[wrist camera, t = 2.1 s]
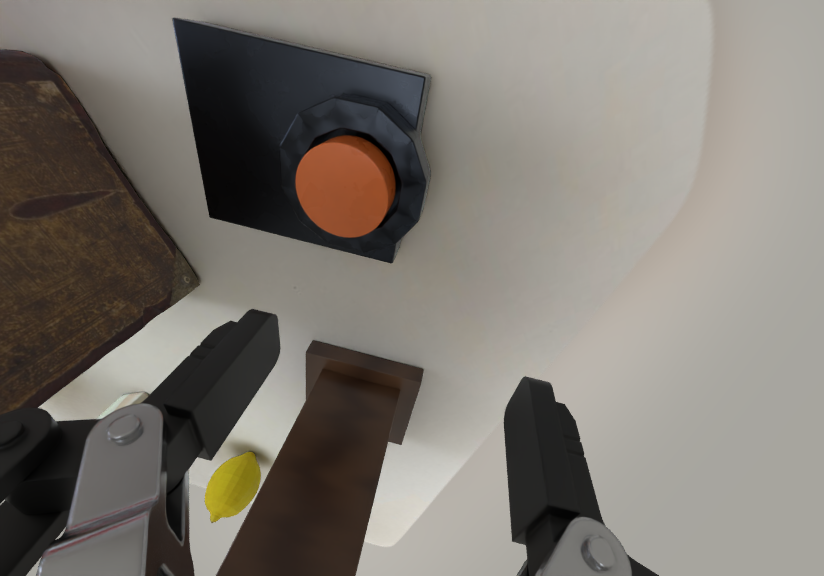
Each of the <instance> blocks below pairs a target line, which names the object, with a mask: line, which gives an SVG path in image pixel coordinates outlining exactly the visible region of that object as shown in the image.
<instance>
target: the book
mask: <svg viewBox="0 0 824 576" xmlns="http://www.w3.org/2000/svg"><path fill="white" fill-rule="evenodd" d="M199 285H200V284H199V282H198V280H197V278H196V276H195V274H194V273H193V271H192V269H191V268H190V266H189V265H188V263H187V261H186V260H185V259H184V257H183V256H182V254H181V253H180V251H179V250H178V249H177V248H176V247H175V245H174V244H173V242H172V241H171V239H170V238H169V237H168V236H167V235H166V233H165V232H164V231H163V229H162V228H161V227H160V225H159V224H158V223H157V221H156V220H155V219H154V217H153V216H152V214H151V213H150V211H149V210H148V209H147V207H146V206H145V205H144V203H143V202H142V201H141V199H140V198H139V197H138V195H137V194H136V192H135V191H134V189H133V188H132V186H131V185H130V183H129V182H128V180H127V179H126V178H125V176H124V175H123V173H122V172H121V171H120V169H119V167H118V166H117V164H116V163H115V161H114V160H113V158H112V157H111V155H110V154H109V152H108V151H107V149H106V147H105V146H104V144H103V142H102V140H101V138H100V136H99V134H98V132H97V130H96V128H95V126H94V124H93V123H92V121H91V120H90V118H89V117H88V115H87V114H86V112H85V110H84V109H83V107H82V106H81V104H80V103H79V101H78V100H77V98H76V97H75V95H74V94H73V93H72V91H71V90H70V89H69V87H68V86H67V85H66V83H65V82H64V81H63V79H62V78H61V77H60V75H58V74H57V73H55V72H53V71H52V70H50V69H48V68H47V67H46V66H45V64H44V63H43V62H41V61H40V60H39V59H37V58H36V57H34V56H32V55H30V54H28V53H25V52H23V51H14V50H0V415H1V414H4V413H7V412H10V411H13V410H17V409H23V408H38V407H39V406H40V405H42V404H43V403H44V402H46V401H47V400H48V399H49V398H51V397H52V396H53V395H54V394H56V393H57V392H58V391H60V390H61V389H62V388H63V387H65V386H66V385H67V384H69V383H70V382H71V381H73V380H74V379H75V378H77V377H78V376H79V375H81V374H82V373H83V372H85V371H86V370H87V369H89V368H90V367H91V366H93V365H94V364H95V363H96V362H98V361H99V360H100V359H101V358H103V357H104V356H105V355H106V354H108V353H109V352H110V351H112V350H113V349H115V348H116V347H118V346H119V345H121V344H122V343H124V342H125V341H126V340H128V339H129V338H130V337H132V336H133V335H134V334H136V333H137V332H138V331H140V330H141V329H142V328H143V327H144V326H145V325H146V324H147V323H148V322H150V321H151V320H152V319H153V318H155V317H156V316H157V315H159V314H161V313H162V312H164V311H165V310H167V309H168V308H170V307H171V306H173V305H174V304H175V303H177V302H178V301H179V300H181V299H182V298H183V297H185V296H186V295H187V294H189V293H190V292H191V291H193V290H194V289H195V288H196V287H197V286H199Z"/></svg>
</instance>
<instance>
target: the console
mask: <svg viewBox="0 0 824 576" xmlns="http://www.w3.org/2000/svg"><path fill="white" fill-rule="evenodd" d="M172 20H173V26H174V31H175V36H176V42H177V47H178V52H179V58H180V63H181V68H182V73H183V79H184V84H185V89H186V95H187V100H188V105H189V111H190V116H191V121H192V127H193V132H194V137H195V142H196V148H197V153H198V158H199V164H200V169H201V174H202V180H203V185H204V190H205V196H206V201H207V206H208V212H209V217H210V218H214V219H218V220H222V221H226V222H230V223H234V224H238V225H242V226H246V227H250V228H253V229H257V230H261V231H265V232H269V233H273V234H277V235H281V236H285V237H289V238H293V239H297V240H301V241H305V242H309V243H313V244H317V245H321V246H325V247H329V248H332V249H336V250H340V251H344V252H348V253H352V254H356V255H360V256H364V257H368V258H372V259H376V260H380V261H384V262H388V263H393V261H394V259H395V257H396V255H397V252H398V250H399V248H400V242H401V238H402V237H403V236H404V235H405V234H406V233H407V232H408V231H409V230H410V229H411V228H412V227H413V226H414V225H415V224H416V223H417V222H418V220H419V219H420V216H421V214H422V211H423V208H424V204H425V200H426V195H427V191H428V186H429V182H430V177H431V170H430V167H429V164H428V160H427V157H426V154H425V151H424V147H423V144H422V141H421V137H420V135H421V130H422V125H423V119H424V114H425V109H426V103H427V98H428V92H429V87H430V82H431V75H429V74H425V73H421V72H417V71H412V70H408V69H404V68H399V67H395V66H391V65H387V64H382V63H378V62H374V61H370V60H365V59H361V58H357V57H352V56H348V55H344V54H340V53H335V52H331V51H327V50H322V49H318V48H314V47H310V46H305V45H301V44H297V43H292V42H288V41H284V40H280V39H275V38H271V37H267V36H262V35H258V34H254V33H250V32H245V31H241V30H237V29H232V28H228V27H224V26H220V25H215V24H211V23H207V22H201V21H194V20H188V19H181V18H172ZM342 135H352V136H357V137H360V138H363V139H365V140H367V141H369V142H371V143H372V144H374V145H375V146H376V147H378V148H379V149H380V150H381V151H382V152H383V154H384V155H385V156H386V158H387V159H388V161H389V163H390V164H391V167H392V169H393V172H394V175H395V181H396V192H395V197H394V200H393V203H392V205H391V207H390V209H389V210H388V212H387V214H386V215H385V217H384V218H383V220H382V222H381V223H380V224H379V225H378V226H377V227H376V228H375V229H374V230H373V231H371V232H370V233H368V234H366V235H363V236H359V237H352V238H348V237H340V236H336V235H333V234H331V233H329V232H327V231H325V230H323V229H322V228H320V227H319V226H318V225H316V224H315V223H314V222H313V221H312V220H311V219H310V218H309V217H308V215H307V214H306V212H305V211H304V209H303V208H302V206H301V204H300V201H299V199H298V196H297V191H296V183H295V182H296V172H297V168H298V165H299V163H300V161H301V159H302V158H303V157H304V155H305V154H306V153H307V152H308V151H309V150H311V149H312V148H313V147H315V146H317V145H319V144H321V143H323V142H325V141H327V140H329V139H331V138H333V137H337V136H342Z"/></svg>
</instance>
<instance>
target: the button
mask: <svg viewBox="0 0 824 576" xmlns="http://www.w3.org/2000/svg"><path fill="white" fill-rule="evenodd" d="M295 183H296V191H297V196H298V199H299V201H300V204H301V206H302V208H303V209H304V211H305V212H306V214H307V215H308V217H309V218H310V219H311V220H312V221H313V222H314V223H315V224H316V225H318V226H319V227H320V228H322V229H323V230H325V231H327V232H329V233H331V234H333V235H336V236H340V237H348V238H352V237H359V236H363V235H366V234H368V233H370V232H371V231H373V230H374V229H375V228H376V227H377V226H378V225H379V224H380V223H381V222H382V220H383V218H384V217H385V215H386V214H387V212H388V210H389V209H390V207H391V205H392V203H393V200H394V197H395V192H396V181H395V175H394V172H393V169H392V167H391V164H390V163H389V161H388V159H387V158H386V156H385V155H384V154H383V152H382V151H381V150H380V149H379V148H378V147H376V146H375V145H374V144H372V143H371V142H369V141H367V140H365V139H363V138H360V137H357V136H352V135H342V136H337V137H333V138H331V139H329V140H327V141H325V142H323V143H321V144H319V145H317V146H315V147H313V148H312V149H311V150H309V151H308V152H307V153H306V154H305V155H304V157H303V158H302V159H301V161H300V163H299V165H298V168H297V172H296V182H295Z"/></svg>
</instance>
